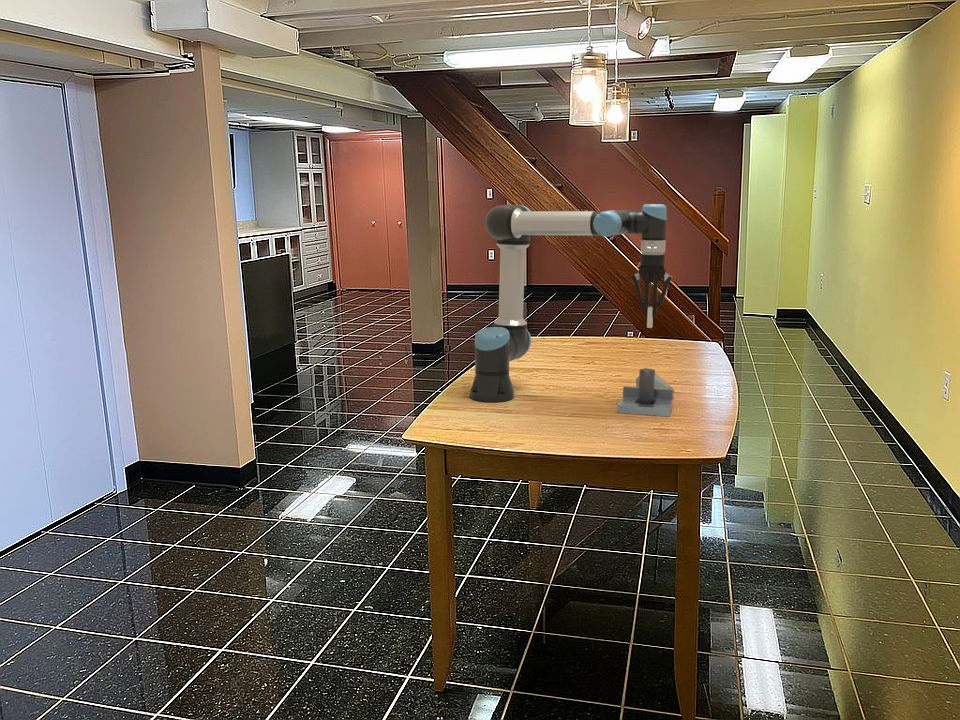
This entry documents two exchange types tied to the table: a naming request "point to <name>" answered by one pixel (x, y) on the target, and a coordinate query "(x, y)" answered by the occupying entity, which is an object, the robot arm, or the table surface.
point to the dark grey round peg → (646, 386)
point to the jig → (658, 408)
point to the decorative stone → (657, 383)
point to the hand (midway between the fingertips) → (649, 327)
